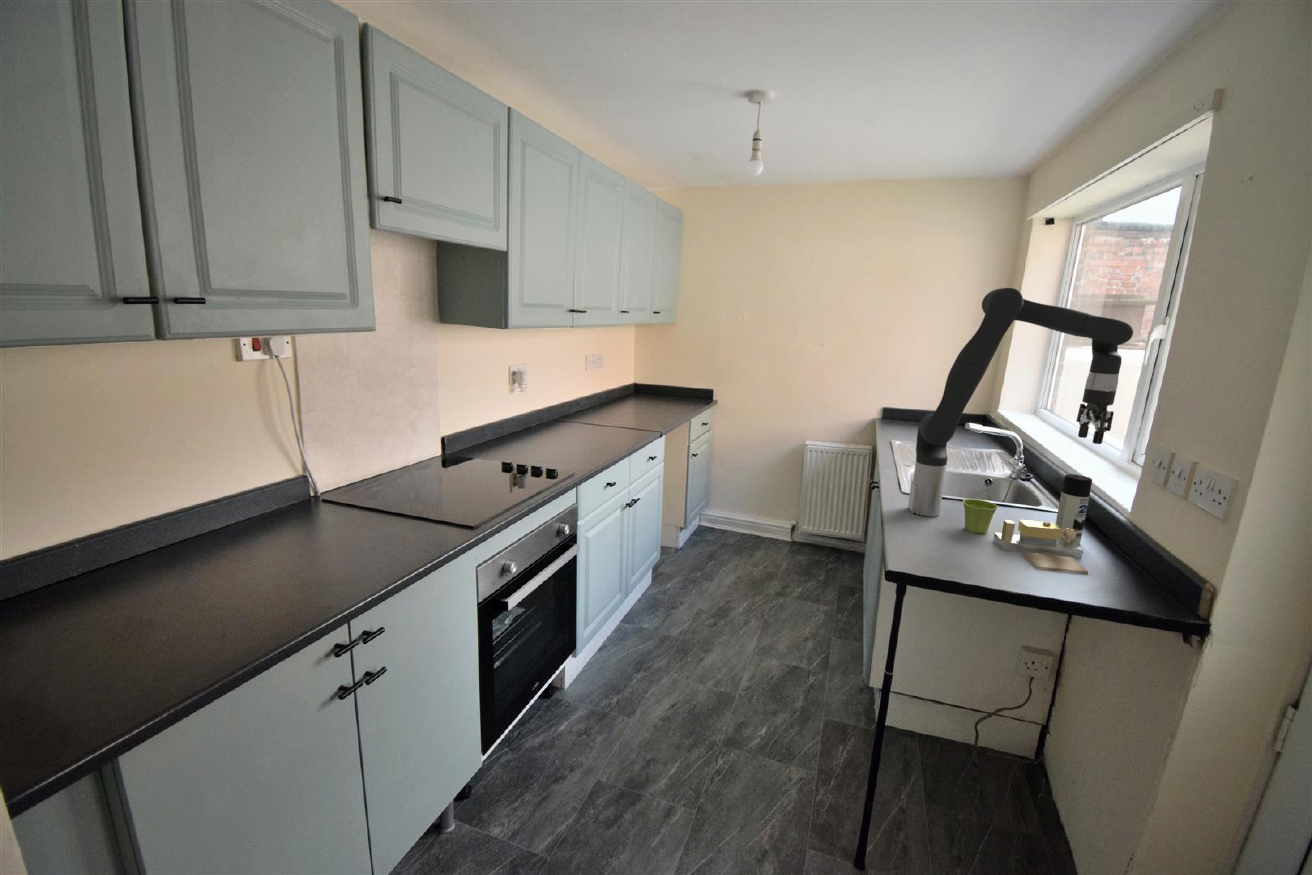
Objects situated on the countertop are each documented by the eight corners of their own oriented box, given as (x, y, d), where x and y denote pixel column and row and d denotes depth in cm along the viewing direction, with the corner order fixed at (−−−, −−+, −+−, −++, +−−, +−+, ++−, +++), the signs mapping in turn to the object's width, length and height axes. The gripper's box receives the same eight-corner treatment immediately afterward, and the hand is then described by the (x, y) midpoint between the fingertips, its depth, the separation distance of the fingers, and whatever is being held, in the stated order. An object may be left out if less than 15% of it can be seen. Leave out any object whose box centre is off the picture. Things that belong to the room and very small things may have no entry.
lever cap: (1024, 536, 158) (1027, 524, 157) (1017, 529, 163) (1019, 517, 162) (1060, 539, 156) (1063, 527, 156) (1052, 532, 161) (1054, 521, 160)
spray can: (1072, 547, 163) (1085, 481, 158) (1047, 538, 168) (1059, 475, 164) (1084, 543, 166) (1098, 478, 161) (1059, 535, 171) (1072, 472, 167)
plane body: (1002, 550, 159) (1006, 525, 158) (993, 540, 166) (997, 516, 164) (1081, 558, 155) (1086, 532, 154) (1069, 547, 162) (1074, 523, 160)
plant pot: (964, 522, 180) (968, 496, 178) (997, 530, 174) (1001, 504, 172) (954, 529, 174) (958, 503, 172) (987, 538, 167) (992, 511, 165)
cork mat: (1036, 568, 148) (1037, 566, 148) (1022, 554, 157) (1023, 552, 156) (1087, 574, 146) (1088, 571, 145) (1070, 559, 154) (1071, 557, 154)
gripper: (1074, 384, 176) (1064, 434, 180) (1099, 390, 163) (1087, 444, 166) (1101, 385, 175) (1090, 436, 178) (1129, 392, 161) (1116, 446, 165)
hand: (1089, 440), depth 172 cm, fingers open, 8 cm apart
